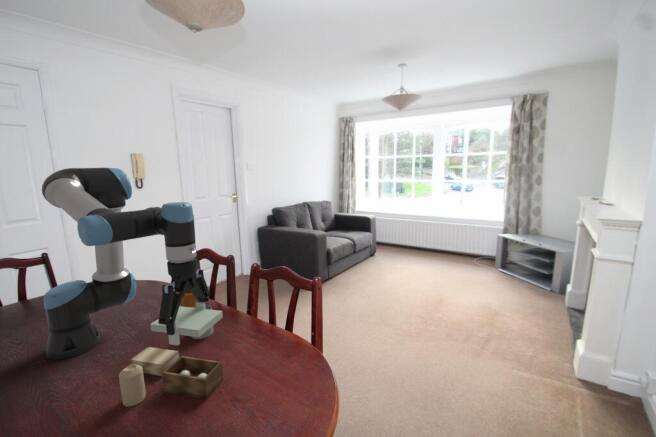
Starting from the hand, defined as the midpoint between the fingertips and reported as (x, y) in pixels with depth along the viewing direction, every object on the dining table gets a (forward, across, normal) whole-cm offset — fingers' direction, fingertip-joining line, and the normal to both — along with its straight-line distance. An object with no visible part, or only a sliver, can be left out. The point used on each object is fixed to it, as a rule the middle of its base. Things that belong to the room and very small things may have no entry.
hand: (189, 332), depth 86 cm
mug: (+17, +44, +35) cm, 59 cm away
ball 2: (+14, 0, -3) cm, 15 cm away
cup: (+17, +26, +16) cm, 35 cm away
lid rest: (+17, +5, +18) cm, 25 cm away
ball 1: (+14, 0, +3) cm, 15 cm away
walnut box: (+17, 0, 0) cm, 17 cm away
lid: (-3, 0, 0) cm, 3 cm away
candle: (+17, -8, +13) cm, 23 cm away
